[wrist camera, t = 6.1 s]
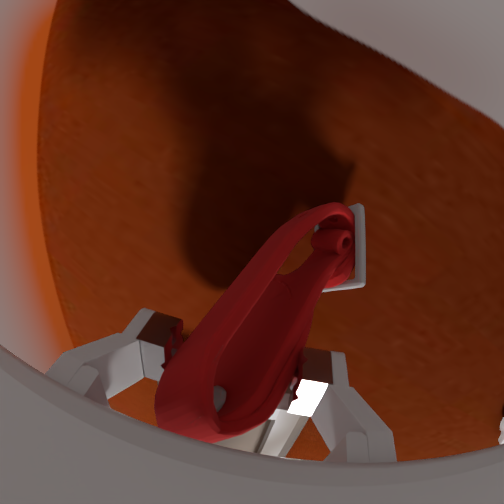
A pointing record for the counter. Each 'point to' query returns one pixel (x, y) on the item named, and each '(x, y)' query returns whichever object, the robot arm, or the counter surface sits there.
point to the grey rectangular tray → (271, 432)
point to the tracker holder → (259, 329)
